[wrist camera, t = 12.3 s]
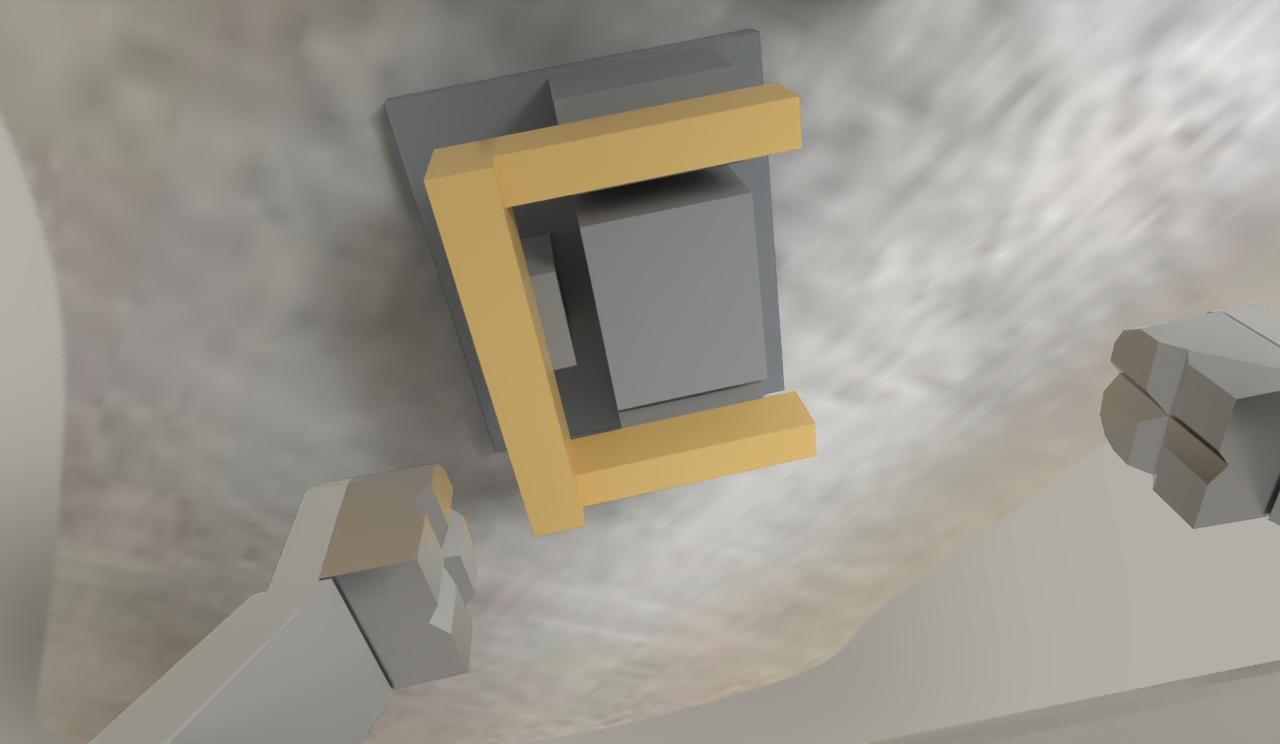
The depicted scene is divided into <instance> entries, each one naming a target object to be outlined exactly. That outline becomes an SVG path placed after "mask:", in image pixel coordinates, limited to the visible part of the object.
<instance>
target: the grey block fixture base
mask: <svg viewBox="0 0 1280 744" xmlns="http://www.w3.org/2000/svg"><path fill="white" fill-rule="evenodd" d="M759 85H763V78H762V64H761V49H760V35H759V31H756V30H754V29H747V30H742V31H737V32H732V33H727V34H721V35H716V36H711V37H706V38H701V39H696V40H690V41H685V42H680V43H675V44H670V45H665V46H659V47H654V48H649V49H644V50H639V51H634V52H628V53H623V54H618V55H613V56H608V57H603V58H598V59H592V60H587V61H582V62H577V63H572V64H567V65H561V66H556V67H551V68H546V69H541V70H536V71H530V72H525V73H520V74H515V75H510V76H505V77H499V78H494V79H489V80H484V81H479V82H474V83H468V84H463V85H458V86H453V87H448V88H443V89H437V90H432V91H427V92H422V93H417V94H412V95H407V96H401V97H396V98H391V99H387V101H386V102H385V104H384V107H385V110H386V113H387V116H388V119H389V122H390V125H391V128H392V131H393V135H394V138H395V141H396V144H397V147H398V150H399V153H400V156H401V159H402V163H403V166H404V169H405V172H406V175H407V178H408V181H409V184H410V188H411V191H412V194H413V197H414V200H415V203H416V206H417V209H418V212H419V216H420V219H421V222H422V225H423V228H424V231H425V234H426V237H427V240H428V244H429V247H430V250H431V253H432V256H433V259H434V262H435V265H436V268H437V272H438V275H439V278H440V281H441V284H442V287H443V290H444V293H445V296H446V300H447V303H448V306H449V309H450V312H451V315H452V318H453V321H454V325H455V328H456V331H457V334H458V337H459V340H460V343H461V346H462V349H463V353H464V356H465V359H466V362H467V365H468V368H469V371H470V374H471V377H472V381H473V384H474V387H475V390H476V393H477V396H478V399H479V402H480V405H481V409H482V412H483V415H484V418H485V421H486V424H487V427H488V430H489V433H490V437H491V440H492V443H493V446H494V449H495V452H499V451H503V450H507V447H506V444H505V441H504V438H503V435H502V431H501V428H500V425H499V422H498V419H497V415H496V412H495V409H494V406H493V402H492V399H491V396H490V393H489V390H488V386H487V383H486V380H485V377H484V373H483V370H482V367H481V364H480V361H479V357H478V354H477V351H476V348H475V345H474V341H473V338H472V335H471V332H470V328H469V325H468V322H467V319H466V316H465V312H464V309H463V306H462V303H461V299H460V296H459V293H458V290H457V287H456V283H455V280H454V277H453V274H452V271H451V267H450V264H449V261H448V258H447V254H446V251H445V248H444V245H443V242H442V238H441V235H440V232H439V229H438V225H437V222H436V219H435V216H434V213H433V209H432V206H431V203H430V200H429V197H428V193H427V190H426V187H425V184H424V178H425V175H426V172H427V169H428V166H429V163H430V160H431V157H432V154H433V151H434V150H435V149H440V148H445V147H450V146H455V145H460V144H465V143H470V142H475V141H480V140H485V139H490V138H495V137H501V136H506V135H511V134H516V133H521V132H526V131H531V130H536V129H541V128H546V127H551V126H556V125H561V124H566V123H572V122H577V121H582V120H587V119H592V118H597V117H602V116H607V115H612V114H617V113H622V112H627V111H632V110H637V109H642V108H648V107H653V106H658V105H663V104H668V103H673V102H678V101H683V100H688V99H693V98H698V97H703V96H708V95H713V94H718V93H724V92H729V91H734V90H739V89H744V88H749V87H754V86H759ZM512 209H513V213H514V217H515V221H516V225H517V229H518V233H519V237H520V240H521V244H522V248H523V252H524V256H525V260H526V264H527V268H528V272H529V276H530V280H531V284H532V288H533V292H534V296H535V300H536V303H537V307H538V311H539V315H540V319H541V323H542V327H543V331H544V335H545V339H546V343H547V347H548V351H549V355H550V359H551V363H552V366H553V370H554V374H555V378H556V382H557V386H558V390H559V394H560V398H561V402H562V406H563V410H564V414H565V418H566V422H567V426H568V429H569V433H570V436H573V435H578V434H583V433H587V432H592V431H596V430H601V429H606V428H610V427H615V426H620V425H621V429H622V428H627V427H631V426H636V425H641V424H645V423H650V422H655V421H659V420H664V419H669V418H673V417H678V416H683V415H687V414H692V413H696V412H701V411H706V410H710V409H715V408H720V407H724V406H729V405H734V404H738V403H743V402H747V401H752V400H757V399H761V398H763V395H764V394H768V393H773V392H778V391H782V390H784V377H783V363H782V349H781V335H780V320H779V306H778V292H777V277H776V263H775V249H774V235H773V220H772V206H771V192H770V178H769V163H768V155H766V156H761V157H756V158H751V159H746V160H741V161H736V162H731V163H726V164H721V165H716V166H711V167H706V168H701V169H696V170H691V171H686V172H681V173H676V174H671V175H666V176H661V177H656V178H651V179H646V180H642V181H637V182H632V183H627V184H622V185H617V186H612V187H607V188H602V189H597V190H592V191H587V192H582V193H577V194H572V195H567V196H562V197H557V198H552V199H547V200H542V201H537V202H532V203H527V204H522V205H517V206H512Z"/></svg>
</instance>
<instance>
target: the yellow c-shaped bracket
mask: <svg viewBox="0 0 1280 744" xmlns="http://www.w3.org/2000/svg"><path fill="white" fill-rule="evenodd" d="M800 148H802V135H801V114H800V96H798V95H797V94H795V93H794V92H792V91H790V90H789V89H787V88H785V87H784V86H782V85H780V84H779V83H777V82H774V83H769V84H764V85H759V86H754V87H749V88H744V89H739V90H734V91H729V92H724V93H718V94H713V95H708V96H703V97H698V98H693V99H688V100H683V101H678V102H673V103H668V104H663V105H658V106H653V107H648V108H642V109H637V110H632V111H627V112H622V113H617V114H612V115H607V116H602V117H597V118H592V119H587V120H582V121H577V122H572V123H566V124H561V125H556V126H551V127H546V128H541V129H536V130H531V131H526V132H521V133H516V134H511V135H506V136H501V137H495V138H490V139H485V140H480V141H475V142H470V143H465V144H460V145H455V146H450V147H445V148H440V149H435V150H434V151H433V154H432V157H431V160H430V163H429V166H428V169H427V172H426V175H425V178H424V184H425V187H426V190H427V193H428V197H429V200H430V203H431V206H432V209H433V213H434V216H435V219H436V222H437V225H438V229H439V232H440V235H441V238H442V242H443V245H444V248H445V251H446V254H447V258H448V261H449V264H450V267H451V271H452V274H453V277H454V280H455V283H456V287H457V290H458V293H459V296H460V299H461V303H462V306H463V309H464V312H465V316H466V319H467V322H468V325H469V328H470V332H471V335H472V338H473V341H474V345H475V348H476V351H477V354H478V357H479V361H480V364H481V367H482V370H483V373H484V377H485V380H486V383H487V386H488V390H489V393H490V396H491V399H492V402H493V406H494V409H495V412H496V415H497V419H498V422H499V425H500V428H501V431H502V435H503V438H504V441H505V444H506V447H507V451H508V454H509V457H510V460H511V464H512V467H513V470H514V473H515V476H516V480H517V483H518V486H519V489H520V493H521V496H522V499H523V502H524V505H525V509H526V512H527V515H528V518H529V522H530V525H531V528H532V531H533V534H534V537H536V536H541V535H545V534H550V533H554V532H559V531H563V530H568V529H572V528H577V527H581V526H586V524H585V516H584V508H583V507H585V506H589V505H594V504H598V503H603V502H608V501H612V500H617V499H621V498H626V497H630V496H635V495H639V494H644V493H649V492H653V491H658V490H662V489H667V488H671V487H676V486H680V485H685V484H690V483H694V482H699V481H703V480H708V479H712V478H717V477H721V476H726V475H731V474H735V473H740V472H744V471H749V470H753V469H758V468H762V467H767V466H772V465H776V464H781V463H785V462H790V461H794V460H799V459H803V458H808V457H813V456H816V435H815V423H814V421H813V419H812V418H811V416H810V414H809V413H808V411H807V409H806V408H805V406H804V404H803V403H802V401H801V399H800V398H799V396H798V395H797V393H796V391H794V392H789V393H785V394H780V395H775V396H771V397H766V398H761V399H757V400H752V401H747V402H743V403H738V404H734V405H729V406H724V407H720V408H715V409H710V410H706V411H701V412H696V413H692V414H687V415H683V416H678V417H673V418H669V419H664V420H659V421H655V422H650V423H645V424H641V425H636V426H631V427H627V428H622V429H618V430H613V431H608V432H604V433H599V434H594V435H590V436H585V437H580V438H576V439H571V437H570V433H569V429H568V426H567V422H566V418H565V414H564V410H563V406H562V402H561V398H560V394H559V390H558V386H557V382H556V378H555V374H554V370H553V366H552V363H551V359H550V355H549V351H548V347H547V343H546V339H545V335H544V331H543V327H542V323H541V319H540V315H539V311H538V307H537V303H536V300H535V296H534V292H533V288H532V284H531V280H530V276H529V272H528V268H527V264H526V260H525V256H524V252H523V248H522V244H521V240H520V237H519V233H518V229H517V225H516V221H515V217H514V213H513V209H512V206H517V205H522V204H527V203H532V202H537V201H542V200H547V199H552V198H557V197H562V196H567V195H572V194H577V193H582V192H587V191H592V190H597V189H602V188H607V187H612V186H617V185H622V184H627V183H632V182H637V181H642V180H646V179H651V178H656V177H661V176H666V175H671V174H676V173H681V172H686V171H691V170H696V169H701V168H706V167H711V166H716V165H721V164H726V163H731V162H736V161H741V160H746V159H751V158H756V157H761V156H766V155H771V154H776V153H780V152H785V151H790V150H795V149H800Z"/></svg>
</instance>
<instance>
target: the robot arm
mask: <svg viewBox="0 0 1280 744" xmlns="http://www.w3.org/2000/svg"><path fill="white" fill-rule="evenodd" d="M1111 362H1112V363H1113V365H1114V366H1115V368H1116V369H1117V370H1118V372H1119V373H1120V374H1119V375H1118V376H1117V377H1116V378H1115V379H1114V380H1113V381H1112V383H1111V384H1110V385H1109V386H1108V387H1107V388H1106V389H1105V391H1104V393H1103V399H1102V406H1101V412H1100V416H1101V420H1102V424H1103V429H1104V433H1105V436H1106V438H1107V440H1108V441H1109V443H1110V445H1111V447H1112V448H1113V450H1114V451H1115V452H1116V453H1117V454H1118V455H1119V456H1120V457H1121V458H1122V459H1123V460H1124V462H1125V463H1127V464H1128V465H1130V466H1132V467H1135V468H1137V469H1140V470H1143V471H1145V472H1148V473H1150V474H1153V490H1154V491H1155V492H1156V493H1157V494H1158V495H1159V496H1160V497H1161V498H1162V499H1163V500H1164V501H1165V502H1166V503H1167V504H1168V505H1169V506H1170V507H1171V508H1172V509H1173V510H1174V511H1175V512H1176V513H1177V514H1178V515H1179V516H1181V517H1182V518H1183V519H1184V520H1185V521H1186V522H1187V523H1188V524H1189V525H1190V526H1191V527H1192V528H1193V529H1196V528H1202V527H1208V526H1214V525H1220V524H1225V523H1232V522H1237V521H1243V520H1249V519H1255V518H1261V517H1266V516H1269V519H1268V520H1270V521H1272V522H1274V523H1276V524H1278V525H1280V311H1278V310H1276V309H1274V308H1273V307H1271V306H1269V305H1264V304H1258V303H1252V302H1251V303H1246V304H1242V305H1237V306H1233V307H1228V308H1224V309H1219V310H1215V311H1210V312H1208V313H1206V314H1203V315H1198V316H1193V317H1188V318H1183V319H1178V320H1173V321H1168V322H1163V323H1158V324H1153V325H1148V326H1143V327H1138V328H1133V329H1128V330H1123V332H1122V333H1121V334H1120V336H1119V337H1118V339H1117V340H1116V342H1115V344H1114V348H1113V352H1112V356H1111ZM452 497H453V486H452V484H451V482H450V479H449V477H448V475H447V472H446V470H445V468H444V467H443V466H442V465H440V464H439V463H434V464H429V465H423V466H417V467H411V468H405V469H400V470H394V471H388V472H382V473H376V474H371V475H365V476H359V477H356V478H349V479H343V480H338V481H333V482H328V483H322V484H317V485H313V486H312V487H311V488H309V489H308V490H307V491H306V492H305V493H304V495H303V498H302V500H301V503H300V505H299V508H298V511H297V513H296V516H295V519H294V521H293V524H292V526H291V529H290V532H289V534H288V537H287V539H286V542H285V545H284V547H283V550H282V552H281V555H280V558H279V560H278V563H277V566H276V568H275V571H274V573H273V576H272V579H271V581H270V584H269V586H268V589H267V591H264V592H259V593H254V594H252V595H251V596H250V597H249V598H248V599H247V600H246V601H245V602H244V603H242V604H241V605H240V606H239V607H238V608H237V609H236V610H235V611H234V612H233V613H231V614H230V615H229V616H228V617H227V618H226V619H225V620H224V621H223V622H221V623H220V624H219V625H218V626H217V627H216V628H215V629H214V630H213V631H211V632H210V633H209V634H208V635H207V636H206V637H205V638H204V639H203V640H202V641H200V642H199V643H198V644H197V645H196V646H195V647H194V648H193V649H192V650H190V651H189V652H188V653H187V654H186V655H185V656H184V657H183V658H182V659H181V660H179V661H178V662H177V663H176V664H175V665H174V666H173V667H172V668H171V669H169V670H168V671H167V672H166V673H165V674H164V675H163V676H162V677H161V678H160V679H158V680H157V681H156V682H155V683H154V684H153V685H152V686H151V687H150V688H148V689H147V690H146V691H145V692H144V693H143V694H142V695H141V696H140V697H139V698H137V699H136V700H135V701H134V702H133V703H132V704H131V705H130V706H129V707H127V708H126V709H125V710H124V711H123V712H122V713H121V714H120V715H119V716H118V717H116V718H115V719H114V720H113V721H112V722H111V723H110V724H109V725H108V726H106V727H105V728H104V729H103V730H102V731H101V732H100V733H99V734H98V735H97V736H95V737H94V738H93V739H92V740H91V741H90V742H89V743H88V744H361V743H362V741H363V740H364V738H365V737H366V735H367V734H368V732H369V731H370V729H371V728H372V726H373V725H374V723H375V722H376V720H377V719H378V717H379V716H380V714H381V713H382V711H383V710H384V708H385V707H386V705H387V704H388V702H389V701H390V699H391V698H392V696H393V695H394V692H393V689H398V688H402V687H406V686H411V685H415V684H420V683H424V682H429V681H433V680H437V679H442V678H446V677H451V676H455V675H459V674H464V673H468V666H469V655H470V644H471V633H472V622H471V619H470V617H469V614H468V612H467V610H466V607H465V605H466V603H467V602H468V601H469V600H470V599H471V597H472V596H473V595H474V594H475V584H476V566H475V555H474V547H473V543H472V539H471V535H470V531H469V528H468V526H467V523H466V520H465V517H464V516H463V515H461V514H460V513H458V512H456V511H455V510H453V509H452V508H451V505H452ZM864 744H1280V660H1277V661H1272V662H1268V663H1263V664H1258V665H1253V666H1248V667H1243V668H1238V669H1233V670H1228V671H1223V672H1218V673H1213V674H1208V675H1203V676H1198V677H1193V678H1188V679H1183V680H1178V681H1173V682H1169V683H1164V684H1159V685H1154V686H1149V687H1144V688H1139V689H1135V690H1129V691H1124V692H1119V693H1114V694H1109V695H1104V696H1099V697H1094V698H1089V699H1084V700H1079V701H1074V702H1069V703H1064V704H1059V705H1054V706H1049V707H1044V708H1039V709H1034V710H1029V711H1024V712H1019V713H1014V714H1009V715H1004V716H999V717H994V718H989V719H984V720H979V721H974V722H969V723H964V724H959V725H954V726H949V727H944V728H939V729H934V730H929V731H924V732H919V733H914V734H909V735H904V736H899V737H894V738H889V739H883V740H878V741H873V742H868V743H864Z"/></svg>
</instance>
